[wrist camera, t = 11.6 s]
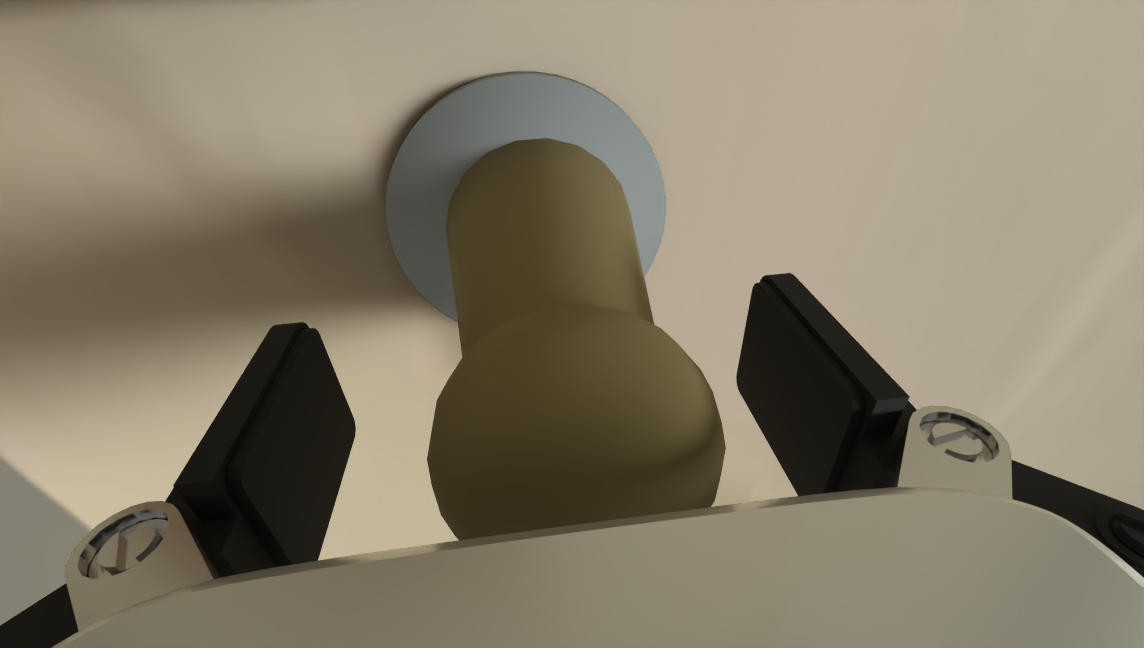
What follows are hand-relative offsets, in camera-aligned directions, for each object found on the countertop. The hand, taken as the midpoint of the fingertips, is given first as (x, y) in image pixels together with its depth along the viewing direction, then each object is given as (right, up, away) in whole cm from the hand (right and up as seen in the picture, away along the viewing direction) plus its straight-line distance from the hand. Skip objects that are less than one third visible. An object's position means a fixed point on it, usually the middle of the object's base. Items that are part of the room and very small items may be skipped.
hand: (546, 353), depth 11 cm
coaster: (-1, +4, +6) cm, 7 cm away
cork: (0, +4, +6) cm, 7 cm away
